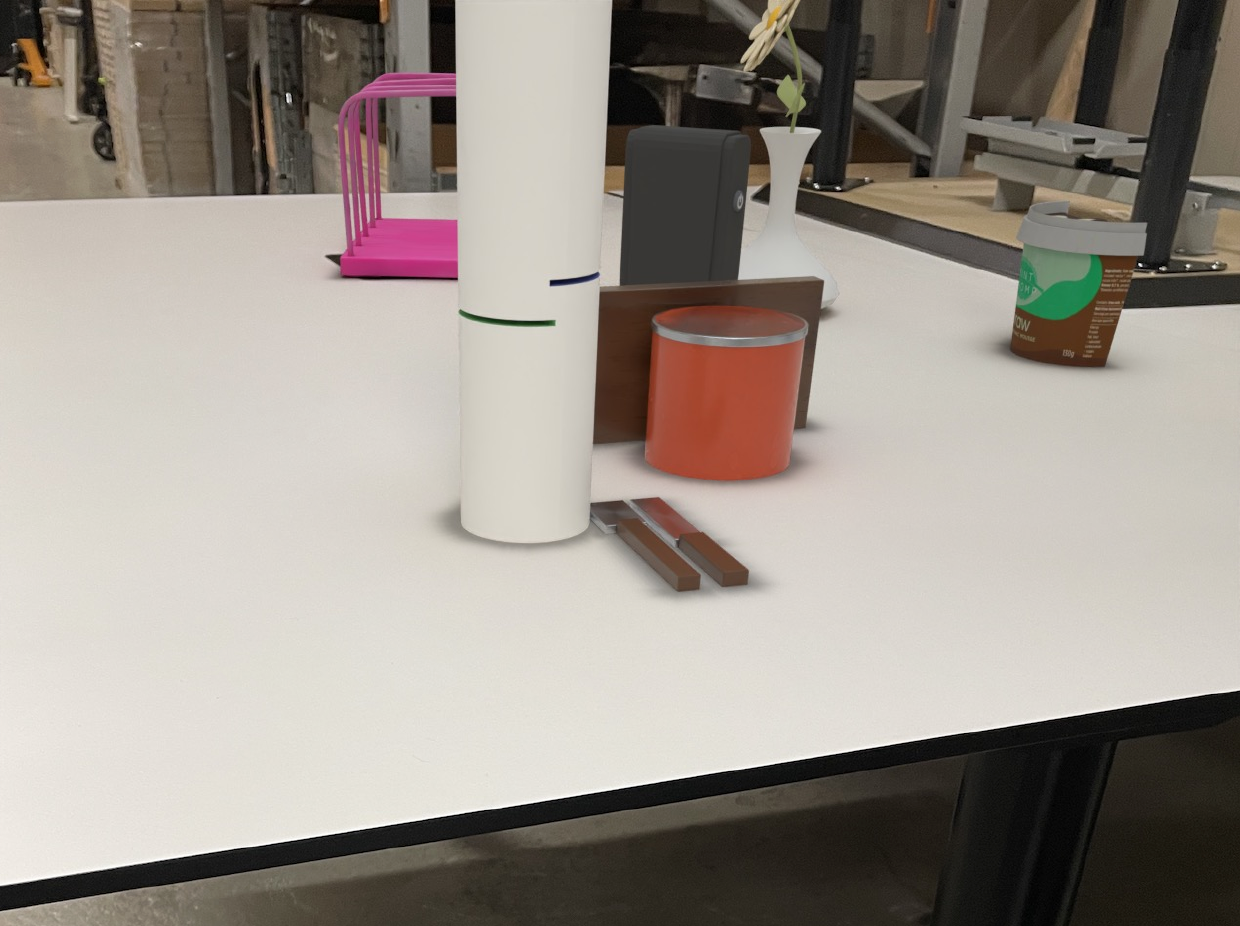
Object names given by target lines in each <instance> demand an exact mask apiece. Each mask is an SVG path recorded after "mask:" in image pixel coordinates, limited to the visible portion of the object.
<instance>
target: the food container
mask: <svg viewBox="0 0 1240 926" xmlns="http://www.w3.org/2000/svg"><path fill="white" fill-rule="evenodd" d="M1070 202H1071V201H1070V200H1055V201H1045V202H1039V203H1034V204H1032V205H1030V206H1029V208H1028V212H1027V214H1025V215H1024V216H1023V218H1022V221H1021V223H1020V226H1019V228H1018V231H1017V233H1016V236H1015V239H1016V240H1017V241H1018V242H1020V243H1022V244H1023V246H1022V254H1021V260H1020V269H1019V277H1018V283H1017V284H1018V285H1017V293H1016V300H1015V308H1014V315H1013V323H1012V329H1011V330H1012V331H1011V339H1010V345H1009V351H1010V352H1011V353H1012V354H1013V355H1014V356H1017V357H1019V358H1022V359H1026V360H1028V361H1029V360H1030V361H1032V362H1038V363H1042V364H1049V365H1055V366H1064V367H1076V368H1077V367H1080V368H1105V367H1106V365H1107V361H1108V358H1109V354H1110V352H1111V347H1112V344H1113V341H1114V338H1115V334H1116V332H1117V328H1118V325H1119V321H1120V317H1121V314H1122V311H1123V309H1124V308H1123V307H1124V304H1125V301H1126V298H1127V295H1128V291H1129V288H1130V284H1131V282H1132V278H1133V275H1134V271H1135V268H1136V265H1137V261H1138V258H1139V257H1140V256H1143V257H1144V256H1145V248H1146V242H1147V234H1148V233H1147V232H1146V231H1147V226H1148V222H1123V221H1121V222H1120V221H1119V222H1118V221H1117V222H1115V221H1108V220H1106V219H1105V218H1099V217H1093V218H1084V217H1083V218H1082V217H1078V216H1075V215H1072V214H1069V209H1070V204H1071V203H1070Z"/></svg>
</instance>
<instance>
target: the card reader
mask: <svg viewBox="0 0 1240 926" xmlns="http://www.w3.org/2000/svg"><path fill="white" fill-rule="evenodd" d="M751 150H752V144H751V138H750V136H749V135H748V134H742V132H741V131H739V130H730V129H715V128H703V127H700V128H699V127H687V126H674V125H673V126H672V125H657V124H650V125H644V126H640V127H639V128H634V129H631V130H629V132H628V134H627V137H626V141H625V152H624V153H625V154H624V174H623V195H622V196H623V197H622V216H621V217H622V218H621V237H620V255H619V256H620V258H619V284H618V286H622V285H643V284H663V283H683V282H703V281H724V280H738V275H739V266H740V256H741V251H742V244H743V234H744V225H745V213H746V204H747V195H748V185H749V184H748V182H749V173H750V162H751V153H752V152H751Z"/></svg>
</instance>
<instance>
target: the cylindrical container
mask: <svg viewBox="0 0 1240 926" xmlns="http://www.w3.org/2000/svg"><path fill="white" fill-rule="evenodd" d="M454 2H455V7H454V8H455V74H456V96H455V97H456V100H455V103H456V105H455V106H456V111H455V112H456V198H457V200H456V201H457V207H456V208H457V209H456V212H457V213H456V214H457V220H458V278H457V293H458V294H457V295H458V296H457V302H458V303H457V305H458V308H459V310H458V312H457V313H458V314H457V316H458V389H459V390H458V392H459V393H458V395H459V397H458V399H459V401H458V403H459V474H460V476H459V480H460V482H459V483H460V485H459V486H460V491H459V492H460V525H461V526H462V529H465V530H466V531H467V532H468V533H470V534H473V535H474V536H478V537H480V538H483V539H487V540H492V541H496V542H503V543H513V544H514V543H516V544H540V543H551V542H557V541H563V540H566V539H570V538H572V537H575V536H578V535H580V534H582V533H584V532H585V531H586V530H587V529H588V528H589V526H590V522H591V521H590V520H591V519H590V503H591V498H592V495H591V494H592V475H593V474H592V473H593V451H594V450H593V448H594V444H593V429H594V406H595V383H596V360H597V337H598V314H599V291H600V287H601V273H600V272H599V271H600V270H601V268H602V267H601V266H602V265H601V264H602V245H603V241H602V240H603V238H602V237H603V222H604V221H603V218H604V199H605V173H606V172H605V171H606V154H607V153H606V152H607V151H606V150H607V149H606V148H607V129H608V107H609V106H608V105H609V82H610V81H609V80H610V57H611V36H612V15H613V13H612V10H613V0H454Z"/></svg>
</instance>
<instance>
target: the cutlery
mask: <svg viewBox="0 0 1240 926" xmlns="http://www.w3.org/2000/svg"><path fill="white" fill-rule="evenodd" d="M590 520H591V521H592V522H593V523H594V524H595V525H596V526H597V527H598V529H600V530H601V531H602V532H603V533H604V534H605V535H609V534H611V535H612V534H616V535H618V536H619V537H620V538H621V539H622V541H624V542H625V543H626V545H628V547H630V548H631V549H632V550H633V551H634V552H635V553H636V554H637V555H638V556H640V558H641V559H643V560H644V562H646V563H647V564H648V565H649V566H650V567H651V568H652V570H654V571H655V572H656V573H657V574H658V575H659V576H660V577H661V578H663V579H664V580H665V581H666V582H667V584H668V585H670V586H671V587H672V588H673V589H674V590H675V591H676V592H678V593H679V592H688V591H697V590H700V589H701V588H700V587H701V577H702V576H701V574H700V573H699V572H698V570H696V569H695V568H693V566H691V564H689V563H688V562H687V561H686V560H685V559H684V558H683V557H681V556H680V555H679V554H678V553H677V552H676V551H675V550H674V549H672V548H678V549H679V550H680V551H681V552H682V553H684V554H685V555H686V557H688V558H689V559H690V560H692V561H693V562H694V563H695V564H696V565H697V566H698V567H699V568H700V569H702V570H703V571H704V572H705V573H706V574H707V575H708V576H710V578H712V579H713V580H714V581H715V582H716V583H717V584H719V585H720V586H721V587H722V588H727V587H736V586H746V585H748V583H749V575H750V570H749V569H748V568H747V567H746V566H744V565H743V563H741V562H740V561H739V560H737V559H736V558H735V557H734V556H732V555H731V554H730V553H729V552H728V551H727V550H725V549H724V548H723V547H722V546H721V545H720V544H719V543H717V542H716V541H715V540H714V539H712V538H711V537H710V536H709V535H708V534H706V533H705V532H704V531H700V530H699V529H697V527H695V526H694V524H691V522H690V521H688V520H686V518H684V517H683V516H682V515H681V514H680V513H678V512H677V511H676V510H675V509H674V508H673V507H671V506H670V505H669V504H668V503H666V501H664V500H663V499H662V498H661V497H660V496H655V497H645V498H644V497H643V498H635V499H634V498H632V499H629V504H628V503H627V502H625V501H624V500H623V499H619V500H607V501H606V500H605V501H596V502H595V501H594V502H590ZM648 526H649V527H650V528H652V529H650V528H649V527H648ZM652 530H654V531H655V532H656V533H657V534H658V535H657V534H656V533H655V532H654V531H652ZM659 536H661V537H662V539H664V540H665V541H666V542H667V543H668V544H669V545H670V546H669V545H668V544H667V543H666V542H665V541H663V540H662V539H661V538H660V537H659ZM671 546H672V548H671Z"/></svg>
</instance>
